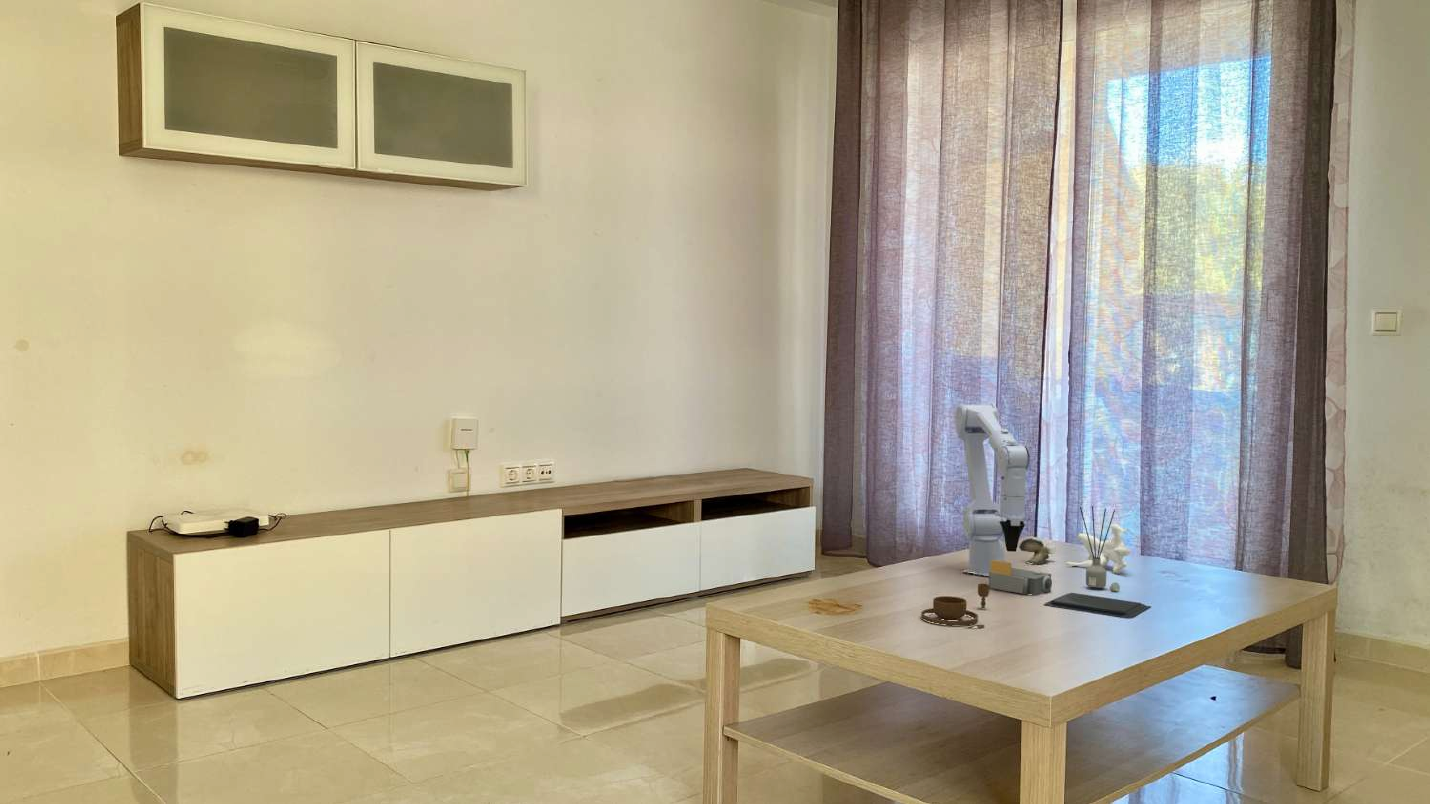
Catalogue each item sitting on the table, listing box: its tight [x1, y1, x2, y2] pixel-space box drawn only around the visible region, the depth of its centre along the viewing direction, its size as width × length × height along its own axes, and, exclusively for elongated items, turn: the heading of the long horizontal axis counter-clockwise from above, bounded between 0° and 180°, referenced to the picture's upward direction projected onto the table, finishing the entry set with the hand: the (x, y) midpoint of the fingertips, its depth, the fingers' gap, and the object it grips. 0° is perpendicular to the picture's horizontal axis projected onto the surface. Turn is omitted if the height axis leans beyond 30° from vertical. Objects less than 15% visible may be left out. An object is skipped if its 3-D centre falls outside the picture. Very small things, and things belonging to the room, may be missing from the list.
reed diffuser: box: [1079, 505, 1121, 592], centre depth 269 cm, size 10×7×20 cm
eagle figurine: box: [1018, 537, 1057, 565], centre depth 302 cm, size 8×7×9 cm
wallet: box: [1043, 592, 1152, 620], centre depth 251 cm, size 20×2×15 cm
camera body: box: [988, 567, 1053, 596], centre depth 267 cm, size 8×13×4 cm, turn 47°
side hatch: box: [989, 560, 1028, 595], centre depth 264 cm, size 1×10×7 cm, turn 47°
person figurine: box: [1065, 523, 1131, 575], centre depth 294 cm, size 13×13×18 cm
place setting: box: [920, 583, 990, 629], centre depth 238 cm, size 18×20×6 cm
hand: (1011, 551), depth 269 cm, fingers closed
